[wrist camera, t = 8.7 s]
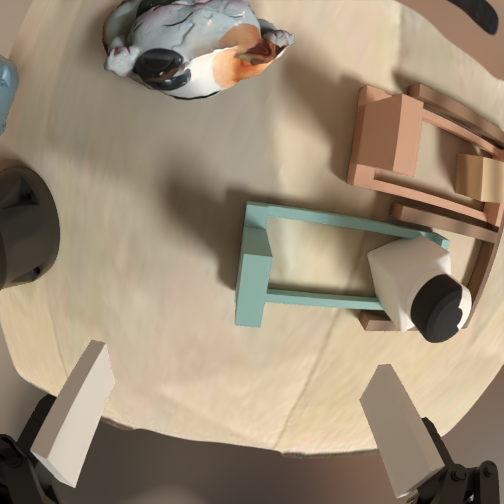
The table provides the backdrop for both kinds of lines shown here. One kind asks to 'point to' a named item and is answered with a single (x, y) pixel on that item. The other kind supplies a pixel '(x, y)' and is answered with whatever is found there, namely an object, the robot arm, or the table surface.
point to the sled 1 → (260, 257)
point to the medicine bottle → (419, 287)
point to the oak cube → (480, 178)
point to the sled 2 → (404, 147)
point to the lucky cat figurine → (190, 45)
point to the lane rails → (489, 235)
